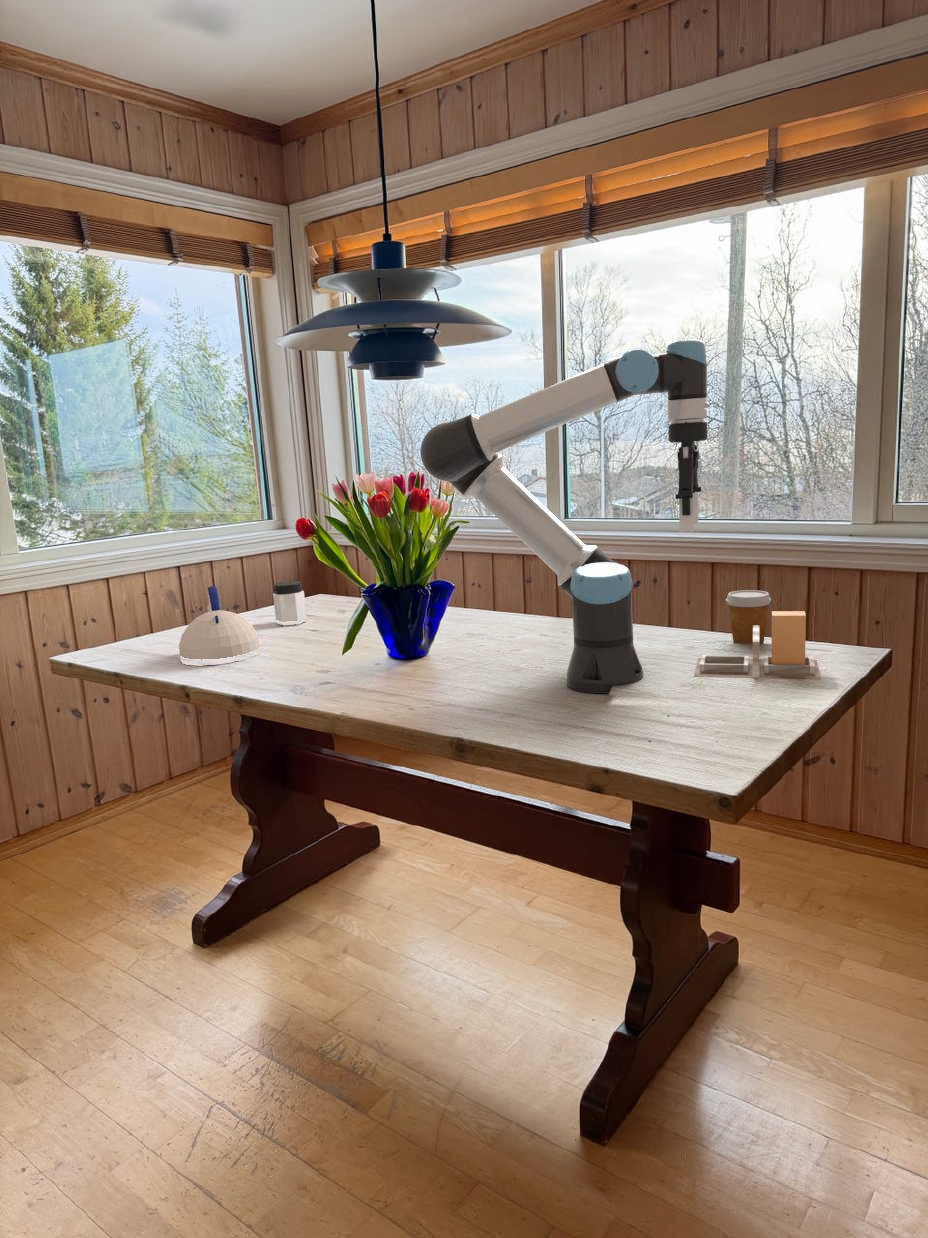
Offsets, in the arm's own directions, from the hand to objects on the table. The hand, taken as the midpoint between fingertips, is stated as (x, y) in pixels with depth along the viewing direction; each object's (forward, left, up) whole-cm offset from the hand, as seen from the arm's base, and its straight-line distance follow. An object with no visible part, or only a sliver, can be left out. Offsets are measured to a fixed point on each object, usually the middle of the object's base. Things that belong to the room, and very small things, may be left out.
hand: (689, 527), depth 177 cm
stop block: (+11, -17, -27) cm, 34 cm away
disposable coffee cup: (+18, +6, -29) cm, 35 cm away
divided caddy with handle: (+6, -14, -29) cm, 32 cm away
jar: (-74, +98, -29) cm, 126 cm away
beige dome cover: (-95, +67, -29) cm, 120 cm away
